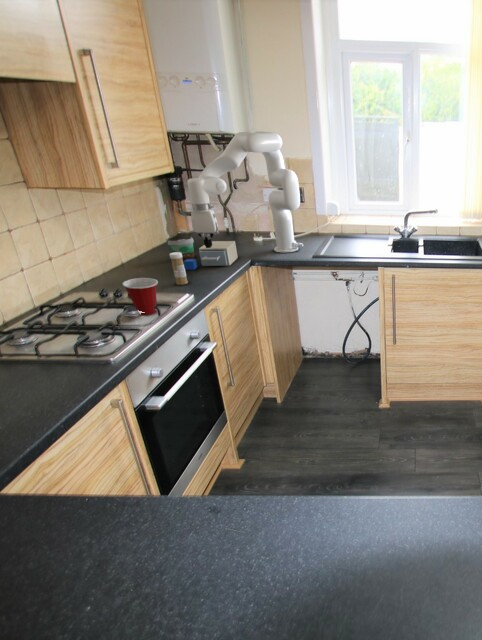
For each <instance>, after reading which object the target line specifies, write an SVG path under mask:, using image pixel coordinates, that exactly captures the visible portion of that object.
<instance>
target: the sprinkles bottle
mask: <svg viewBox="0 0 482 640" xmlns="http://www.w3.org/2000/svg"><path fill="white" fill-rule="evenodd" d="M169 258H170V260H171V265H172V270H173V274H174V278H175V284H176V285H177V286H183V285H186V284H187V285H188V284H189V281H188V278H187V273H186V269H185V264H184V260H183V259H182V253H181V252H173V253H172V252H170V253H169Z"/></svg>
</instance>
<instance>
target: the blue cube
mask: <svg viewBox="0 0 482 640" xmlns="http://www.w3.org/2000/svg"><path fill="white" fill-rule="evenodd" d="M183 264H184V267H185V271H186V270H187V271H188V270H189V271H193V270H196V269H197V268H198V263H197V259H196V258H193V259H187V260H183Z"/></svg>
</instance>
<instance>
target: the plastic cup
mask: <svg viewBox="0 0 482 640" xmlns="http://www.w3.org/2000/svg"><path fill="white" fill-rule="evenodd" d="M158 283H159V281H158V279H155V278H151V277H137V278H136V277H135V278H130V279H127V280H124V281H123V282H122V283H121V284H122V286H123V287H124V288H125V290H126V292H127V294H128V295H129V297H130V300H131V302H132V304H133V306H134V308H135V309H136V310H137V309H138V310H139V311H142V312H145V313H141V315H140V316H149V315H153V314H156V313H157V310H158V308H157V309H156V310H155V309H154V306H157V303H158V301H157V287H158V286H157V285H158Z"/></svg>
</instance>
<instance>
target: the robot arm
mask: <svg viewBox="0 0 482 640" xmlns="http://www.w3.org/2000/svg"><path fill="white" fill-rule="evenodd" d="M282 147H283V139H282V137H281V136H280V135H279V134H278V133H277V132H273V131H255V132H245V131H239V132H237V133H235V135H234V136H233V137H232V138H231V140H230V142H229V143H228V145H226V147H225V149H224V150H223V152H222V153H221V154H220V155H219V156H218V157H216V158H215V159H214V160H212V161H211V162H210V163H208V164H207V165H206V166H205V167H204V168H203V170H202V172H200V174H199V176H198V177H192V178H188V179H187V188H188V195H189V199H190V203H191V208H192V209H191V212H190V216H191V217H190V219H191V228H192V231H193V235H195V236H199V237H201V239H202V240H203V244H204V245H205V246H206V248H211V247H212V241H213V240H212V238H213V237H214V236H218V235H219V234H220V232H219V224H218V220H217V217H216V214H215V211H214V208H215V205H214V204H211V202H210V195H223V194H224V193H225V192H226V191H227V188H228V186H227V183H226V181H225V180H224V179H222V178H221V176H223V175H224V174H226V173H230V172H232V171H235V170H237V169H238V168H239V167H240V166H241V165H242V163H243V161H244V160H245V159H246V157H247V155H248V154H249V153H261V154H262V155H263V157H264V159H265V165H266V171H267V178H268V182H269V184H270V185H271V187H275V188H278V189H274V190H272V191H271V192H270V193H269V194H268V204H269V208H270V211H271V215H272V220H273V221H272V222H273V229H274V236H275V243H276V246H275V247H274V249H273V251H274V252H276V253H281V254H283V253H284V254H285V253H286V254H287V253H294V252H296V251H299V248H303V247H304V243H302V242H297V240H296V239H295V233H294V224H293V216H292V213H291V212H295V211H297V210H298V209H299V208H300V206H301V193H300V184H299V179H298V176H297V174H296V172H295V171H293V170H292V169H288V168H286V167H285V162H284V157H283V154H282V152H281V149H282Z"/></svg>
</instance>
